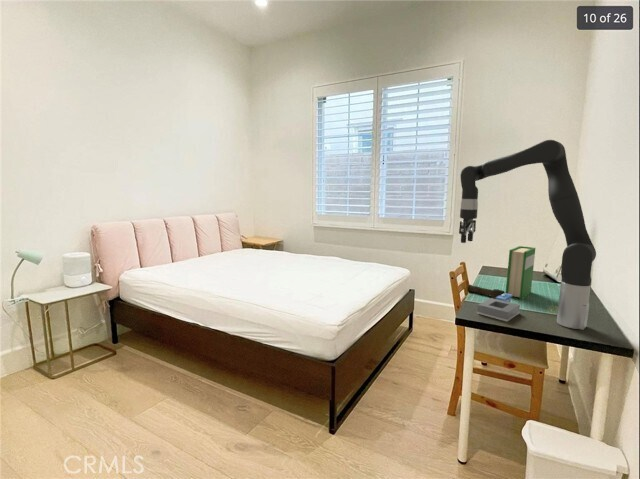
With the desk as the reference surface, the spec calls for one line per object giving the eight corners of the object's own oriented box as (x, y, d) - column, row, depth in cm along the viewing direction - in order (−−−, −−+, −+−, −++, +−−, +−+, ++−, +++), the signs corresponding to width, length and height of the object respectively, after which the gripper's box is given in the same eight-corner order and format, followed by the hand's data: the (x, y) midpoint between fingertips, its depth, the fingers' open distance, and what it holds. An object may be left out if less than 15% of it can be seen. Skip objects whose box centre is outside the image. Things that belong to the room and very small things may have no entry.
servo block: (511, 303, 158) (512, 293, 157) (503, 307, 152) (504, 297, 151) (503, 301, 161) (504, 291, 160) (495, 305, 154) (496, 295, 154)
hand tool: (466, 292, 175) (466, 283, 175) (470, 290, 178) (470, 282, 177) (503, 301, 161) (504, 292, 160) (507, 300, 163) (508, 291, 162)
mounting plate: (518, 313, 144) (519, 304, 144) (507, 321, 135) (507, 312, 134) (490, 306, 153) (490, 298, 153) (477, 313, 144) (477, 304, 143)
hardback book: (521, 299, 163) (526, 251, 160) (505, 296, 168) (509, 249, 165) (530, 292, 176) (535, 247, 172) (515, 289, 181) (519, 246, 177)
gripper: (471, 209, 151) (469, 244, 153) (482, 208, 161) (480, 241, 163) (455, 208, 156) (453, 242, 158) (466, 207, 166) (464, 239, 168)
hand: (466, 241), depth 161 cm, fingers open, 8 cm apart
